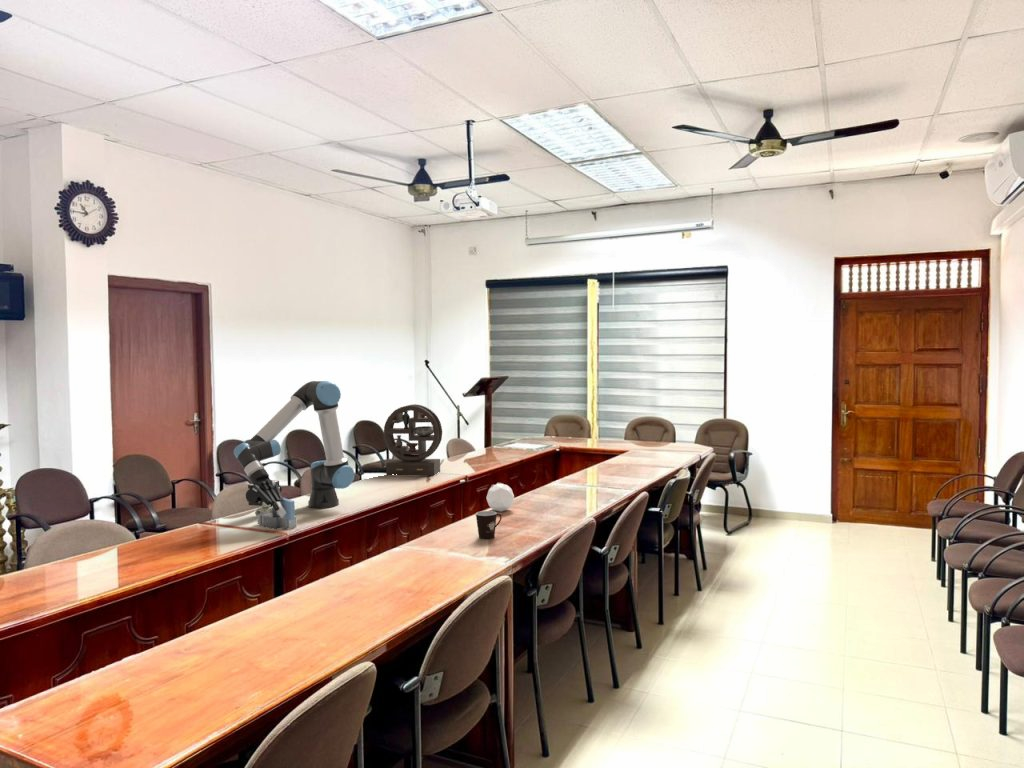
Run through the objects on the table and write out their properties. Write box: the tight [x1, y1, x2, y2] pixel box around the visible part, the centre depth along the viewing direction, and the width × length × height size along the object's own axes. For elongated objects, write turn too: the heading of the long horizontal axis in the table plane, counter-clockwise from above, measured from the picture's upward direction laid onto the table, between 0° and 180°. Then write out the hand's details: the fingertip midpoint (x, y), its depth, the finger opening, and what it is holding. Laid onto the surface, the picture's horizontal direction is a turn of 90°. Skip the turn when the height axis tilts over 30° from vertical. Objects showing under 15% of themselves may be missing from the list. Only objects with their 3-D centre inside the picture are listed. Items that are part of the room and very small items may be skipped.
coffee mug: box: [475, 510, 502, 540], centre depth 278 cm, size 12×9×10 cm
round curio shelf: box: [383, 403, 443, 477], centre depth 439 cm, size 37×19×45 cm, turn 83°
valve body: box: [256, 512, 297, 530], centre depth 304 cm, size 8×20×5 cm, turn 61°
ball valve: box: [245, 479, 283, 517], centre depth 324 cm, size 18×8×18 cm, turn 162°
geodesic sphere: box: [486, 482, 515, 513], centre depth 327 cm, size 14×14×14 cm
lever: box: [272, 497, 296, 520], centre depth 298 cm, size 19×4×8 cm, turn 42°
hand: (283, 515), depth 291 cm, fingers closed
